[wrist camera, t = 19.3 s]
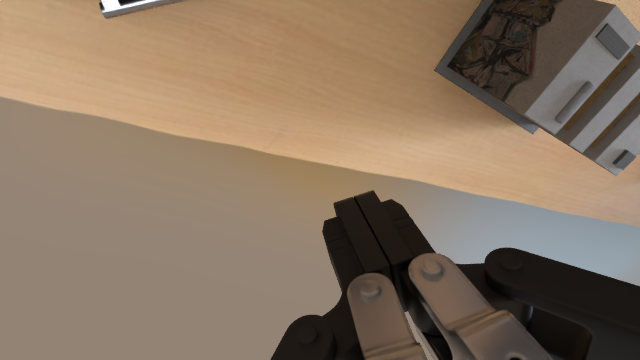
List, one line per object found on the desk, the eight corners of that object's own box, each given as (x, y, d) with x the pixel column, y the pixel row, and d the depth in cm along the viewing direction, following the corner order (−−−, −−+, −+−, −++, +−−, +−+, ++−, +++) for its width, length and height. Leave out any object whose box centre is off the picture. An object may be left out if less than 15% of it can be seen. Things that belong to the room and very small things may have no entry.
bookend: (532, 134, 66) (615, 189, 53) (433, 70, 54) (510, 122, 41) (605, 50, 60) (719, 89, 47) (512, -43, 48) (631, -24, 35)
